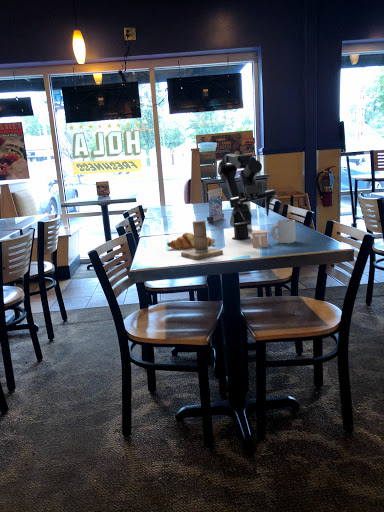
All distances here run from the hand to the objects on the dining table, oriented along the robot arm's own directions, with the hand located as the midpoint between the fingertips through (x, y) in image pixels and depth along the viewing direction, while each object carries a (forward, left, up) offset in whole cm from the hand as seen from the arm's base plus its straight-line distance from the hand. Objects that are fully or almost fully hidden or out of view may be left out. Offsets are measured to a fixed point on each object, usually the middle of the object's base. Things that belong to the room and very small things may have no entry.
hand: (256, 218), depth 169 cm
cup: (+4, +11, -12) cm, 16 cm away
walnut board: (-6, -24, -12) cm, 27 cm away
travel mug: (-34, +22, -12) cm, 43 cm away
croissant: (-24, -17, -12) cm, 32 cm away
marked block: (0, +1, -12) cm, 12 cm away
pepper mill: (-7, -24, -10) cm, 27 cm away
